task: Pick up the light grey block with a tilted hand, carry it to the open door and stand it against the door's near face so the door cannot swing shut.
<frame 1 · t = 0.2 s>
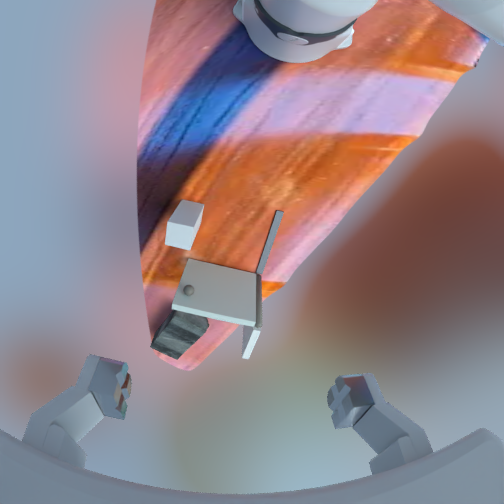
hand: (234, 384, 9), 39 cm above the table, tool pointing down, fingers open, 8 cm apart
wall: (258, 275, 55), on the table
door: (221, 290, 48), point 7 cm above the table, hinge at 90.0°
stone block: (182, 325, 64), on the table
light grey block: (191, 212, 48), on the table
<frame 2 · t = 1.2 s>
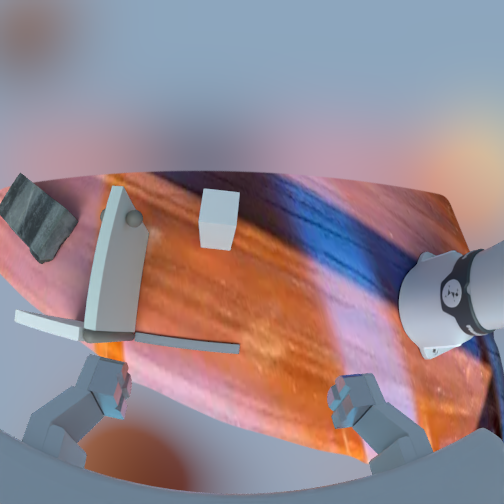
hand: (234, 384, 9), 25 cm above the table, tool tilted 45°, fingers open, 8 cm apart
wall: (131, 335, 32), on the table
door: (121, 275, 27), point 7 cm above the table, hinge at 90.0°
stone block: (40, 225, 34), on the table
light grey block: (217, 235, 38), on the table
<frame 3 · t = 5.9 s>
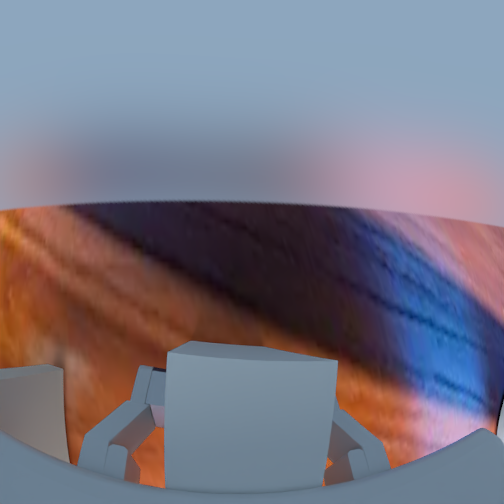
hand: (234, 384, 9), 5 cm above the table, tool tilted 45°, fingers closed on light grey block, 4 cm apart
light grey block: (224, 379, 14), on the table, touching gripper
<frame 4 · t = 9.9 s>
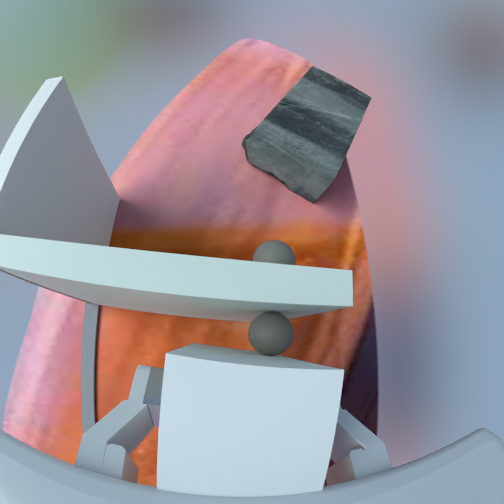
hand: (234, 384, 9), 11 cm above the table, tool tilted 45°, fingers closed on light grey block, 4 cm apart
wall: (94, 296, 19), on the table
door: (156, 296, 14), point 7 cm above the table, hinge at 90.3°
stone block: (300, 138, 28), on the table
light grey block: (227, 383, 13), point 7 cm above the table, touching gripper
when the fingers open (6 cm above the table, at t = 11.2 s): light grey block drops 1 cm, on the table.
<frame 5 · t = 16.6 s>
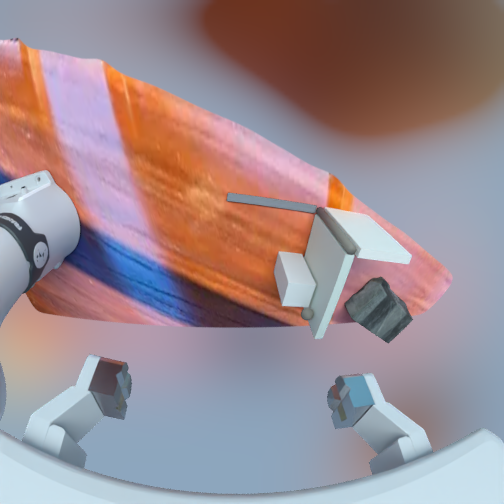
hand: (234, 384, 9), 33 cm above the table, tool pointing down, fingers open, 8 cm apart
wall: (319, 209, 42), on the table
door: (321, 270, 39), point 7 cm above the table, hinge at 90.5°
stone block: (377, 301, 53), on the table
light grey block: (287, 263, 46), on the table
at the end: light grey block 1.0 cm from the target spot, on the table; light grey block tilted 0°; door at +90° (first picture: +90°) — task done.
